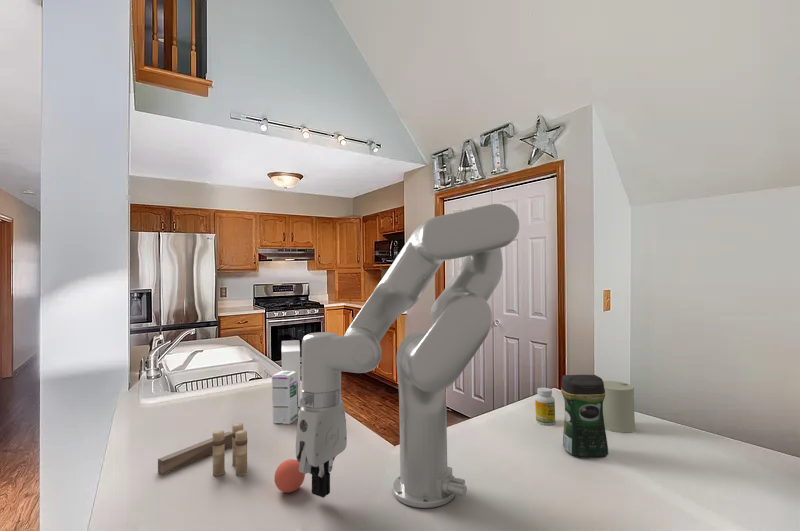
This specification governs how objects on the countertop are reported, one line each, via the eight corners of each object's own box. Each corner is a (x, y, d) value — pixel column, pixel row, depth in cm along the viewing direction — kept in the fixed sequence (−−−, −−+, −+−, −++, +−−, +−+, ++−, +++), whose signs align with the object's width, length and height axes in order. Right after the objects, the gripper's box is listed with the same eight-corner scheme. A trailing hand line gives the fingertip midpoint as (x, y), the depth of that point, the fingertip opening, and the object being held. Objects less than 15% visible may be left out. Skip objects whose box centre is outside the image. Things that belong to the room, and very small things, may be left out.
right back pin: (246, 462, 93) (245, 424, 94) (236, 467, 91) (236, 427, 91) (239, 460, 95) (238, 422, 95) (229, 464, 92) (229, 425, 93)
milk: (300, 407, 133) (300, 341, 133) (281, 409, 131) (281, 342, 131) (299, 402, 139) (299, 338, 139) (281, 403, 137) (281, 339, 137)
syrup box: (290, 424, 117) (289, 375, 118) (271, 423, 118) (271, 374, 119) (298, 417, 123) (298, 370, 123) (281, 416, 124) (280, 370, 124)
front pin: (249, 472, 89) (249, 431, 89) (240, 476, 87) (240, 435, 87) (242, 469, 90) (242, 429, 90) (233, 474, 88) (232, 433, 88)
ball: (311, 487, 82) (311, 457, 82) (289, 501, 77) (289, 470, 77) (290, 480, 85) (290, 451, 85) (268, 493, 80) (267, 463, 80)
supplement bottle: (541, 417, 119) (540, 385, 120) (558, 422, 116) (557, 389, 116) (532, 422, 116) (531, 389, 116) (550, 427, 112) (549, 393, 112)
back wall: (233, 444, 104) (233, 432, 104) (162, 474, 88) (162, 460, 88) (228, 443, 105) (228, 431, 105) (157, 472, 89) (157, 459, 89)
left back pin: (227, 472, 89) (227, 431, 89) (217, 477, 87) (217, 435, 87) (220, 469, 90) (220, 429, 91) (210, 474, 88) (210, 433, 88)
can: (643, 429, 109) (642, 385, 109) (619, 435, 106) (617, 389, 106) (614, 418, 118) (613, 378, 118) (590, 423, 114) (589, 381, 115)
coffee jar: (597, 445, 99) (595, 371, 100) (613, 460, 92) (610, 379, 92) (558, 445, 100) (556, 371, 100) (570, 460, 92) (568, 379, 93)
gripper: (308, 412, 68) (308, 520, 68) (359, 390, 81) (359, 481, 81) (277, 405, 72) (277, 507, 72) (331, 385, 85) (330, 472, 85)
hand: (320, 493), depth 76 cm, fingers closed
